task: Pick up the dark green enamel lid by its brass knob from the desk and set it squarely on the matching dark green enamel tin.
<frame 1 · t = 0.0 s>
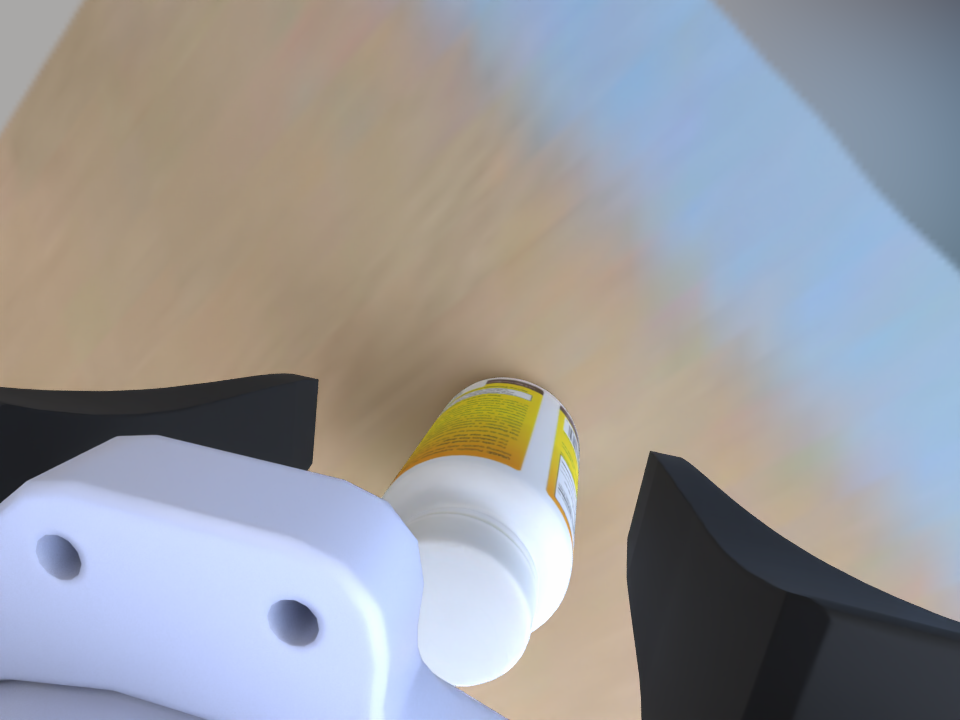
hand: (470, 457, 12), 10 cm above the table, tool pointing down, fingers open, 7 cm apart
supplement bottle: (509, 439, 23), on the table
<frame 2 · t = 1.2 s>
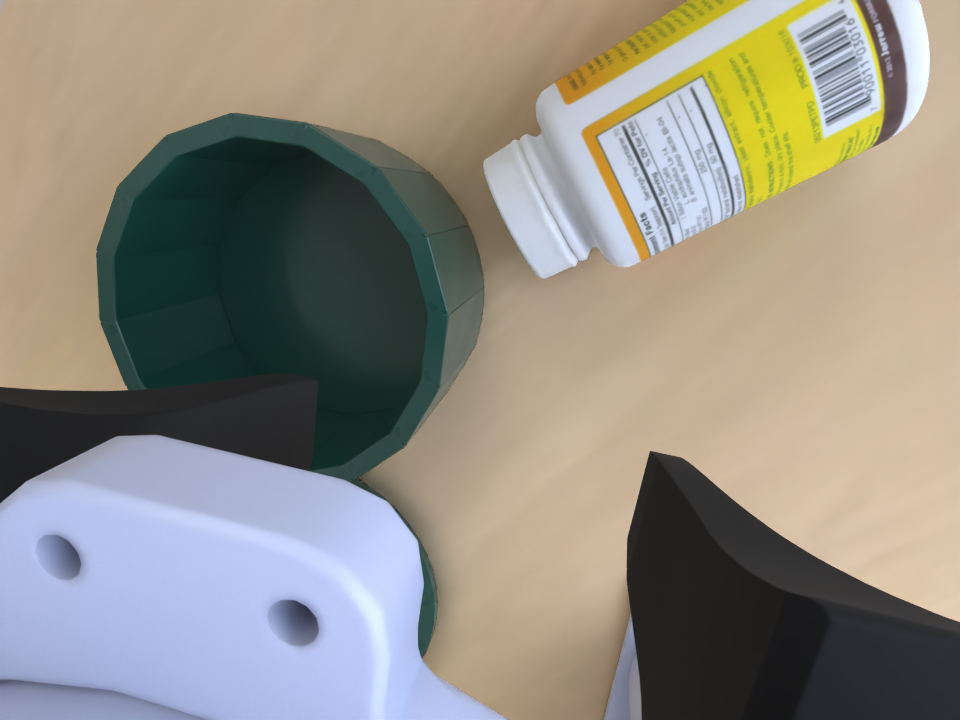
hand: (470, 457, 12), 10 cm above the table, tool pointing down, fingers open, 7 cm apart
tin: (343, 288, 22), on the table
supplement bottle: (881, 20, 15), point 3 cm above the table
lid: (305, 583, 26), point 1 cm above the table
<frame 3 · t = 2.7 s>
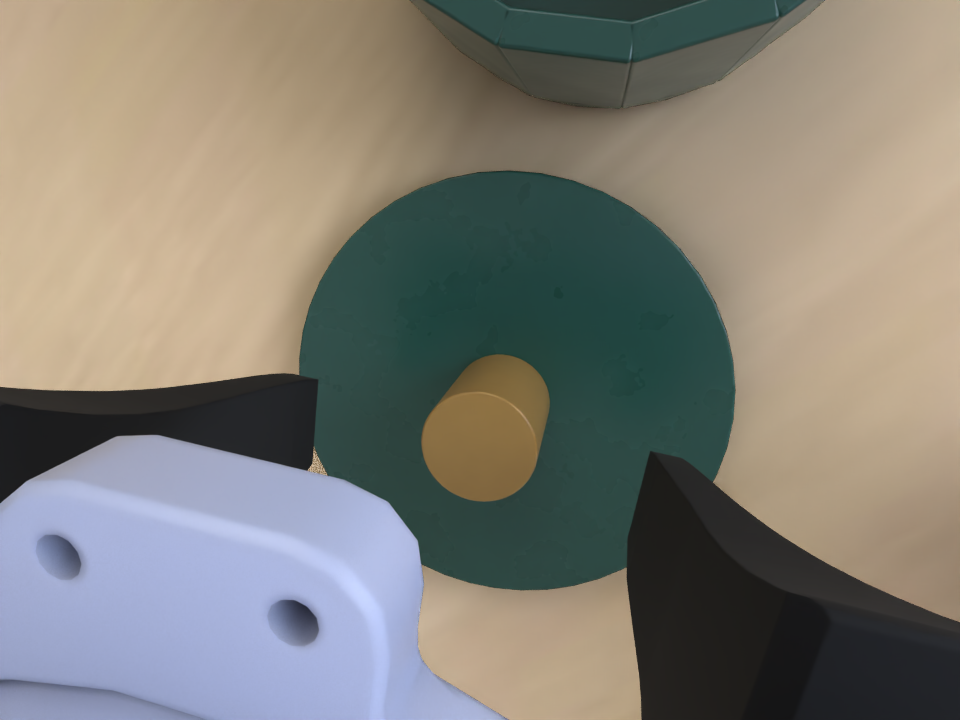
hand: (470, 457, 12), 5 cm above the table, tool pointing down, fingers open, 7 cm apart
lid: (504, 394, 16), point 1 cm above the table
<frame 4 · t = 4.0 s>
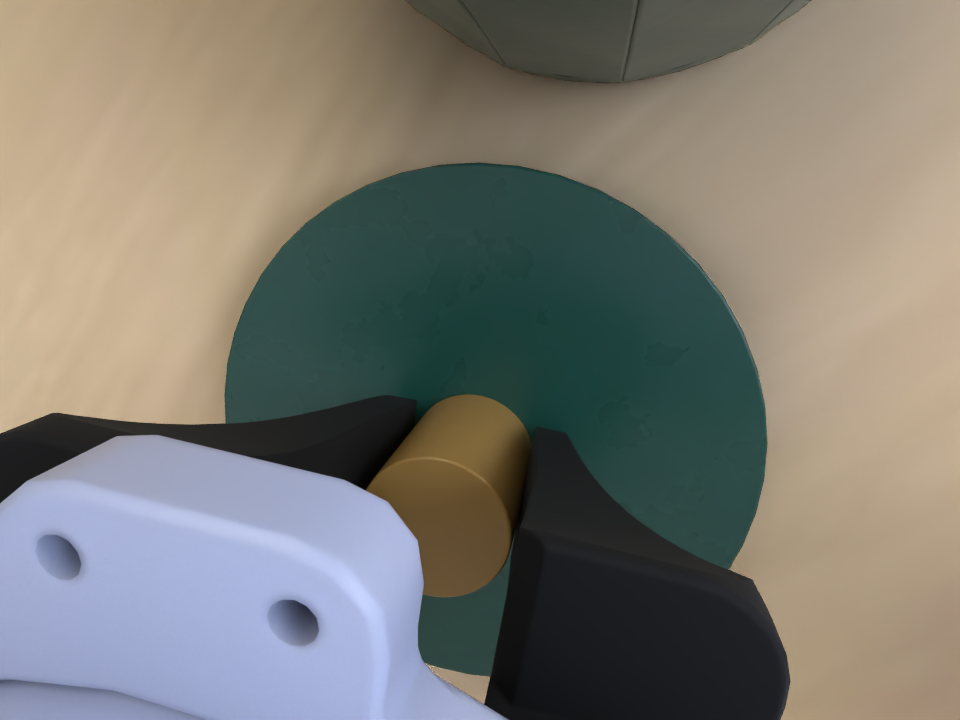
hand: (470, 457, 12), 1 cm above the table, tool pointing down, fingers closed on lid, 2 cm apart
lid: (477, 441, 13), point 1 cm above the table, touching gripper
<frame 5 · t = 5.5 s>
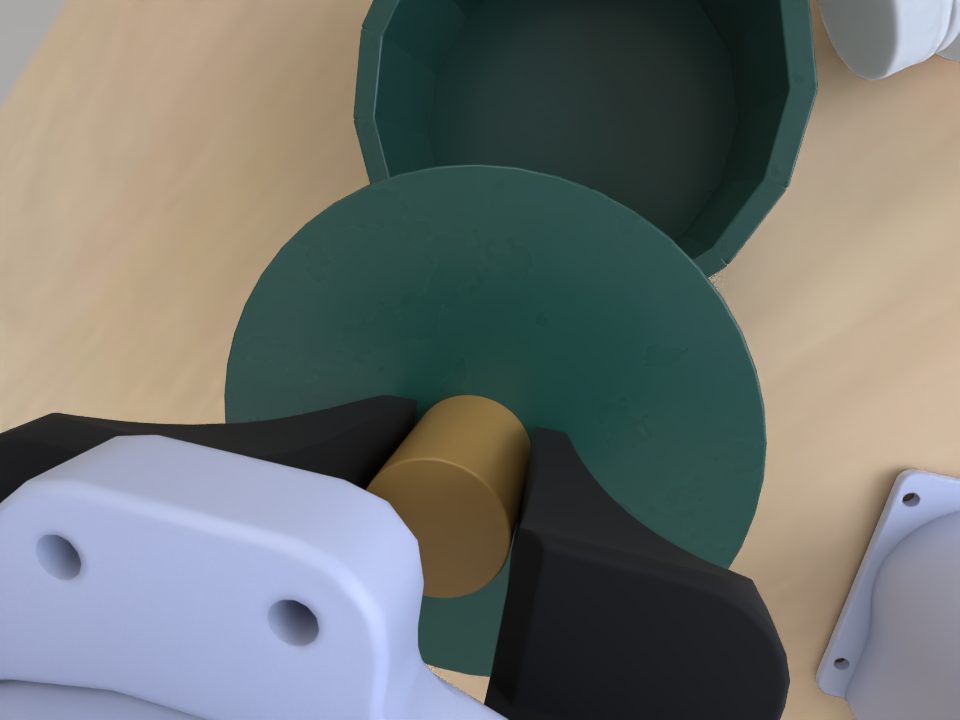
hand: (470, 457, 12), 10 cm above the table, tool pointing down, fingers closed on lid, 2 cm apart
tin: (576, 129, 20), on the table
lid: (476, 442, 13), point 9 cm above the table, touching gripper
when the fingers open (6 cm above the table, at t = 7.4 s): lid stays where it is, resting on tin.
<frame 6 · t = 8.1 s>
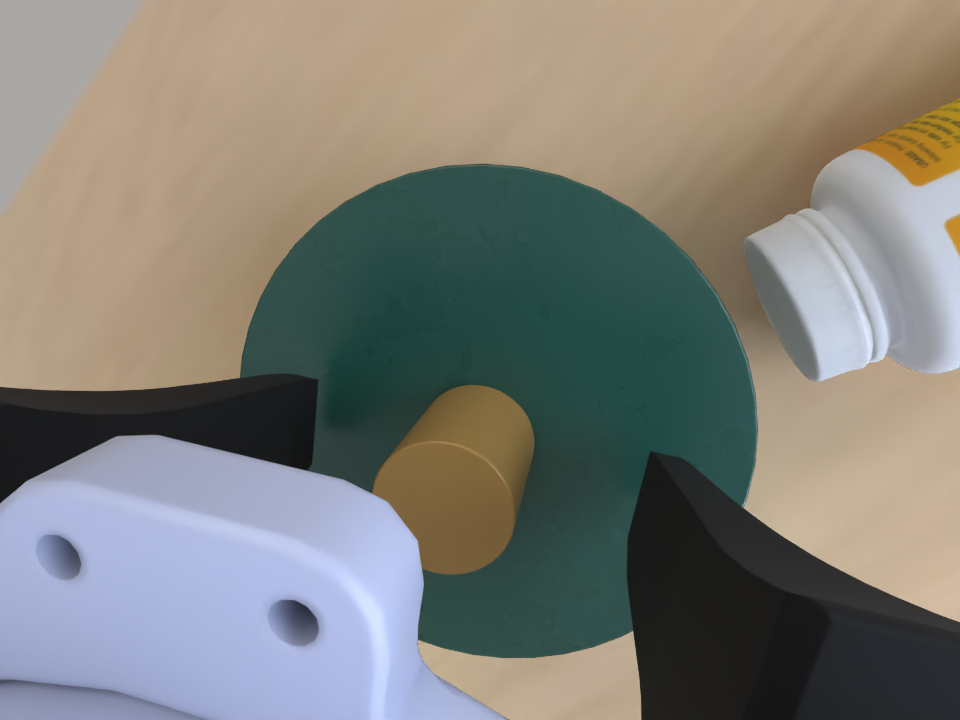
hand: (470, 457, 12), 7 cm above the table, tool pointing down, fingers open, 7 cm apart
lid: (481, 430, 14), point 6 cm above the table, touching tin
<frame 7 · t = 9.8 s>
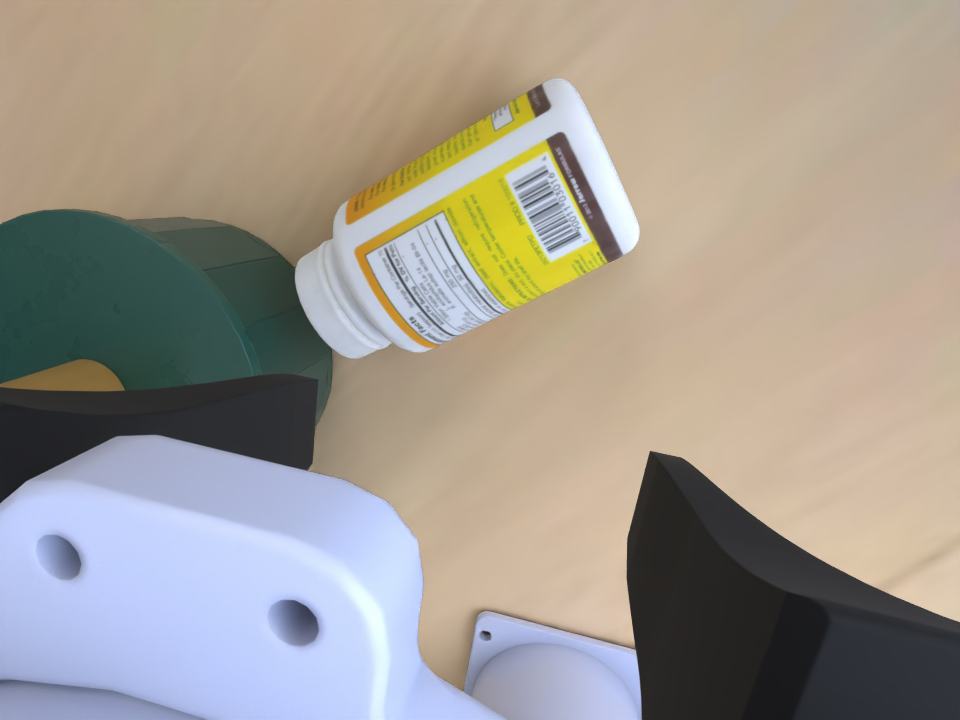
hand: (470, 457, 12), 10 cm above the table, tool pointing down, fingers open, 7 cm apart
tin: (212, 350, 25), on the table
supplement bottle: (614, 156, 17), point 3 cm above the table
lid: (105, 392, 20), point 6 cm above the table, touching tin
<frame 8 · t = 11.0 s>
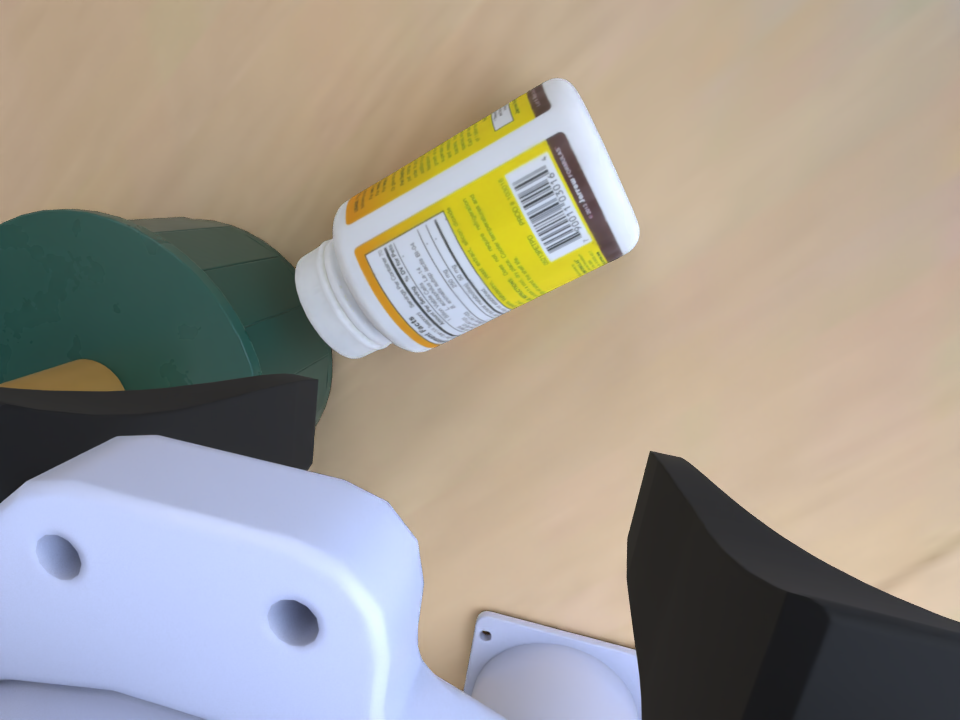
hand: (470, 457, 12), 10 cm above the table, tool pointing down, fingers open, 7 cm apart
tin: (212, 350, 25), on the table
supplement bottle: (614, 156, 17), point 3 cm above the table
lid: (105, 392, 20), point 6 cm above the table, touching tin
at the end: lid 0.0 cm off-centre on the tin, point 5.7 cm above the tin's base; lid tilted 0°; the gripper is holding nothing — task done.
